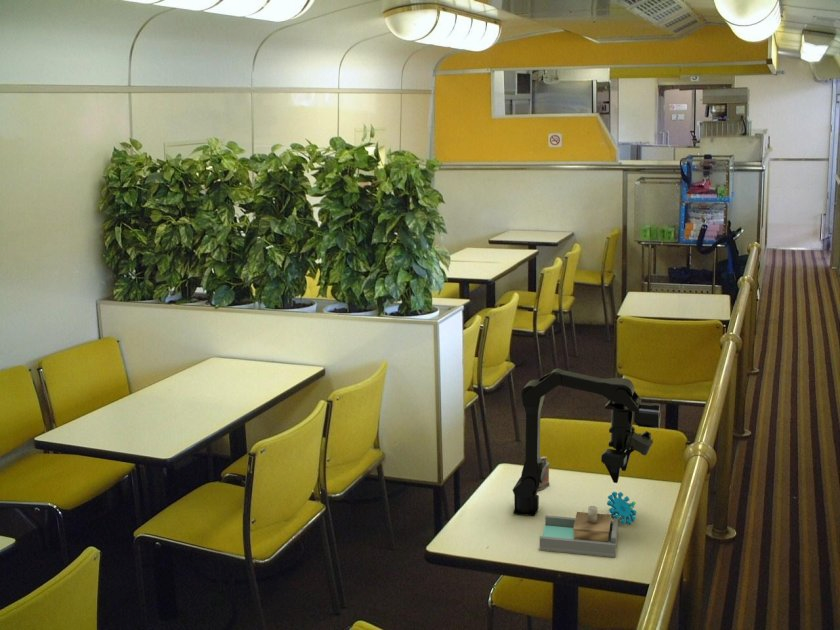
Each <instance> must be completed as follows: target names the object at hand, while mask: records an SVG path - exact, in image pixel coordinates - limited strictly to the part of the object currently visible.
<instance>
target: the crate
mask: <svg viewBox="0 0 840 630" xmlns="http://www.w3.org/2000/svg"><path fill="white" fill-rule="evenodd" d="M575 514H576V515H575V517H574V518H575V523H574V528H573V531H574V539H577V540H588V541H599V542H609V536H610V523H611V521H612V517H611V515H610V514H611V513H609V514H607V513H606V514H605V513H598V506H595V505H590V506H588V511H586V512H583V511H576V513H575Z"/></svg>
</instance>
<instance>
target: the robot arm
mask: <svg viewBox="0 0 840 630" xmlns="http://www.w3.org/2000/svg"><path fill="white" fill-rule="evenodd" d="M559 386H560V387H564V388H569V389H574V390H577V391H582V392H587V393H592V394H596V395H599V396H602V397H603V398H604V399H606V400H608V401H607V402H606V404H605V405H604V409H605V410H610V411H611V421H610V423H611V425H610V428H609V429H608V432H609V433H610V440H609V443H608V448H607V449H606V450H604V452H603V453H602V454H601V455H600V456H601V459H600V461H601V463H602V464H603V465H604V466H605V468H606V469H607V472H608V474H609V475H610V478H611V479H612V483H615V484H618V483H619V479H620V475H621V471H623V472H626V471H627V469H628V464H629V461H630V458H631V454H632V453H633V452H634V451H635V452H638V453H639V454H641V455H642V456H647V455H648V454H649V452H650V450H651V448H652V446H653V444H654V439H653V438H652V433H651V432H649V431H647V430H646V431H644V432H643V433H641V432H639V433H638V432H636V427H635V426H633V422H634V423H635V425H636V426H638V428H639V427H641V428H647V429H660V426H661V417H662V412H661V407H660V406H661V404H660V403H657V402H654V403H650V402H642V399H641V397H640V396H639V394H638V393H637V392H636V390H635V385H634V383H633V382H632V381H631V380H630V379H629V378H624V377H610V378H601V377H597V376H591V375H587V374H582V373H578V372H573V371H568V370H564V369H561V368H555V369H553V370H552V371H551V372H549V373H547V374H545V375H543V376H542V377H540V378H538V379H531V380H529V381H528V382H527V383H526V384H525V386H524V387H523V388H522V390H521V393H520V398H521V403H522V404H521V405H522V408H523V410H524V414H525V443H524V444H525V446H524V449H525V453H524V454H525V460H524V464H523V467H522V469H521V470H522V471H521V476H520V477H519V479H518V480H517V482H516V483H515V485H514V486H513V488H512V492H513V496H514V497H513V498H514V505H513V506H514V509H513V513H512V514H513V515H518V516H519V515H520V516H532V517H535V516H536V515H537V513H538V511H539V507H540V505H539V504H540V502H539V501H540V495H539V494H538V492H537V489H538V488H539V486H540V484H541V483H542V482H543V480H544V478H545V477H546V475H547V474H546V470H545V469H546V462H547V461H546V462H543V463H542V461H541V459H540V457H541V412H542V408H543V404H544V400H545V397H546V396H545V395H547V394H548V393H549V392H551V391H552V390H553V389H555V388H556V387H559ZM633 412H634V413H633ZM633 415H634V416H633ZM633 417H634V419H633ZM609 447H611V448H609Z"/></svg>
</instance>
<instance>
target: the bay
mask: <svg viewBox="0 0 840 630" xmlns="http://www.w3.org/2000/svg"><path fill="white" fill-rule="evenodd" d="M575 518H576V517H571V516H559V515H558V516H557V515H556V516H555V515H547V514H546V515H545V517H544V520H545V521H544V522H545V524H544V529H543V531H542V532H543V533H542V535H540V536H539V551H547V552H557V551H558V552H557V553H568V554H577V555H588V556H589V555H590V556H599V557H606V558H607V557H609V558H616V554H617V543H618V534H619V531H618V530H619V519H617V518H614V517H612V518H613V520H611V523H610V536H609V542H599V541H588V540H577V539H574V531H573V528H574V523H575Z"/></svg>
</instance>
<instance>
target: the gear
mask: <svg viewBox="0 0 840 630" xmlns="http://www.w3.org/2000/svg"><path fill="white" fill-rule="evenodd" d="M623 496H624V493H623V492H621V491H619V492H617V491H612V492H611V494H610V495H608V496H607V499H608V500H607V502H606V505H607V506H609V507H610V508H609V509H608V511H609V514H610V515H611V518H617V519H618V520H619V519H620V517H621V520H620V523H621V524H622V525H625V524H627V525H631V524H633V522H634V521H636V519H637V518H636V515H637V510H636V509H635V510H634V508H635V506H636V505H637V504H636V501H635V500H633V501H631V503H629V501H630V497H629V496H627V495H626V496H625V497H624V498H622V497H623Z"/></svg>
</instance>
